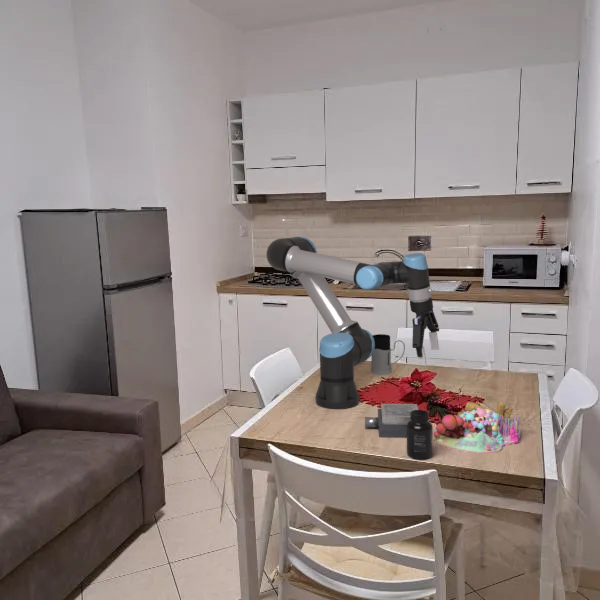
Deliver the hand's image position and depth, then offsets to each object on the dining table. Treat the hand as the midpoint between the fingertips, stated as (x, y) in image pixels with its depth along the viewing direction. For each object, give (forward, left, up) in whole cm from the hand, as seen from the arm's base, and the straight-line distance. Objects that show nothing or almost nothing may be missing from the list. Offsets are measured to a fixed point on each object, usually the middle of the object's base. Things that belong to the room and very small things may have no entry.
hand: (428, 356), depth 193 cm
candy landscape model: (+10, -33, -16) cm, 38 cm away
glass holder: (-13, +32, -15) cm, 38 cm away
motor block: (-14, -29, -15) cm, 35 cm away
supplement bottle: (-8, -47, -15) cm, 50 cm away
